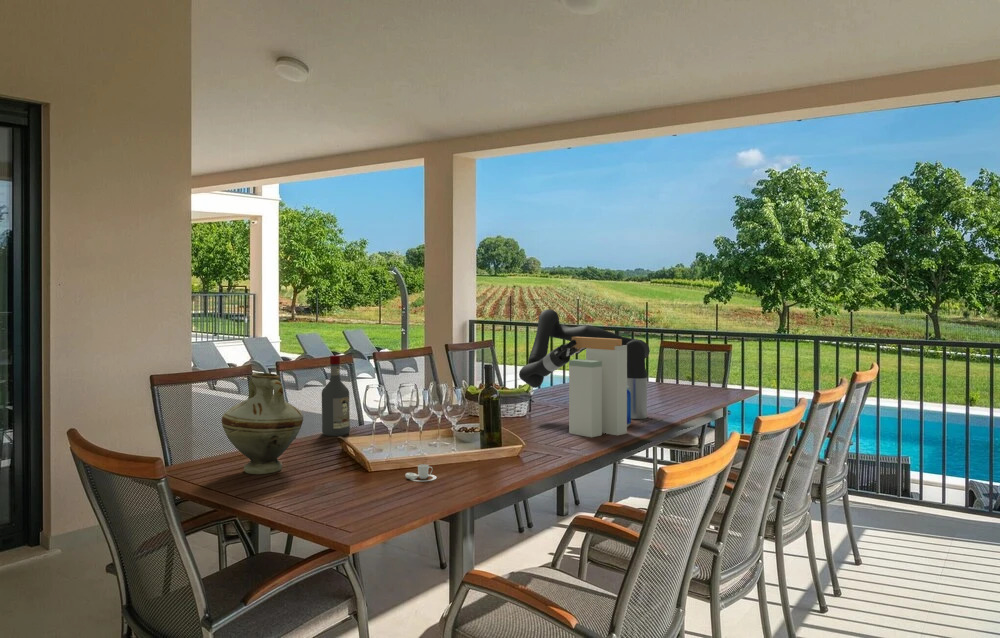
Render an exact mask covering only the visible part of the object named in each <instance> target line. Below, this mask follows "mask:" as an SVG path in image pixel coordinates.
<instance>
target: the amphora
mask: <svg viewBox="0 0 1000 638" xmlns="http://www.w3.org/2000/svg"><path fill="white" fill-rule="evenodd" d="M280 378H281V376H280V375H279V374H276V373H270V372H268V373H267V372H255V373H252V374H250V380H249V382H248V397H247V399H246V400H243V401H241V402H239V403H237V404H235V405H233V406H232V407H230V408H229V409H228V410H226V411H225V412H224V413H223V414H222V417H221V424H222V425H221V426H222V429H223V431H224V433H225V435H226V437H227V438H228V440H229V442H230V443H231V444H232V445H233V446H234V447H235V449H237V451H239V452H240V453H241V454H242V455H243V456H244V457H246V458H248V460H250V462H247V463H246V464H245V465H244V466H243V471H244V472H245V473H246V474H249V475H250V474H251V475H266V474H273V473H277V472H279V471H281V470H282V469H283V463H282V462H281V461H280V460H278V459H279V457H281V456H282V455H283V454H284V453H285V451H286V450H287V449H288V448H289V447H290V445H291V444H292V443H293V442H294V441H295V439H296V438H297V436H298V434H299V432H300V430H301V429H302V425H303V421H304V414H303V412H302V411H301V410H300V409H299V408H297V407H296V406H294V405H292V404H291V403H289V402H287V401H285V399H284V387H283V384H282V382H281V381H280Z"/></svg>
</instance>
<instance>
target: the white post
mask: <svg viewBox="0 0 1000 638" xmlns="http://www.w3.org/2000/svg"><path fill="white" fill-rule="evenodd" d="M585 360H594V361H602V434H605V433H606V435H611V436H620V435H626V434H628V431H627V430H628V427H627V345H622V346H615V350H606V349H592V348H586V349H585Z"/></svg>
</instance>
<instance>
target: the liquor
mask: <svg viewBox="0 0 1000 638" xmlns="http://www.w3.org/2000/svg"><path fill="white" fill-rule="evenodd" d="M340 357H341V356H340V355H330V356H329V363H330V379H329V382H327V384H326V385H325V386H324V387H323V388H322V390H321V432H322V435H324V436H326V437H327V436H330V437H342V436H344V435H348V434H349V433H350V432H351V429H350V428H351V427H350V425H351V420H350V419H351V417H350V410H351V409H350V391H349V388H348V387H347V386H346V385H345V384H344V383H343V382H342V379H341V373H340V372H341V370H340V369H341V368H340V364H341V362H340V361H341V359H340Z"/></svg>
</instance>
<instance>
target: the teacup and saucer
mask: <svg viewBox="0 0 1000 638" xmlns="http://www.w3.org/2000/svg"><path fill="white" fill-rule="evenodd" d="M430 468H431V471H430V473H429V469H430ZM433 469H434V468H433V467H432V466H430V465H429V464H425V463H423V464H418V465H417V473H414V472H406V473H405V478H406V479H408V480H410V481H413V482H431V481H435V480H436V479H437V476H436V475H434V474H432V472H433ZM428 477H432V478H430V479H428ZM418 478H419V479H421V480H418ZM427 479H428V480H427Z"/></svg>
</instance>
